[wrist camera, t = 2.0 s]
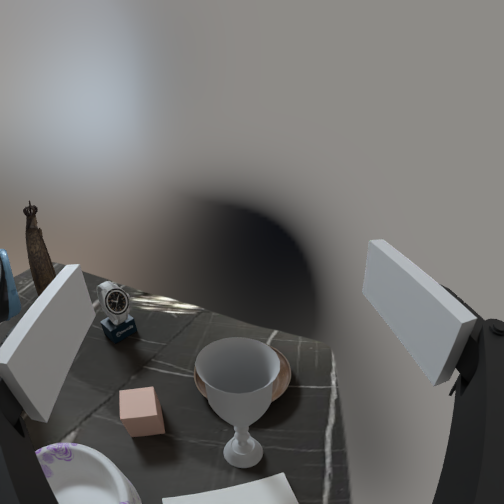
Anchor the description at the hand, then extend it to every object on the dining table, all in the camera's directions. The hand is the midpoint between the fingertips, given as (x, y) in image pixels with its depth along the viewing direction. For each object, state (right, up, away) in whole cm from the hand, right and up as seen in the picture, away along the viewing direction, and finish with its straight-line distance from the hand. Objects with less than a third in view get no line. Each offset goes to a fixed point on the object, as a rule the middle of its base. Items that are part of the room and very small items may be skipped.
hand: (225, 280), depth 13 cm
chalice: (0, -25, +19) cm, 31 cm away
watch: (-25, -15, +41) cm, 50 cm away
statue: (-52, -10, +52) cm, 74 cm away
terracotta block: (-14, -23, +23) cm, 35 cm away
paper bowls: (-18, -30, +7) cm, 36 cm away
